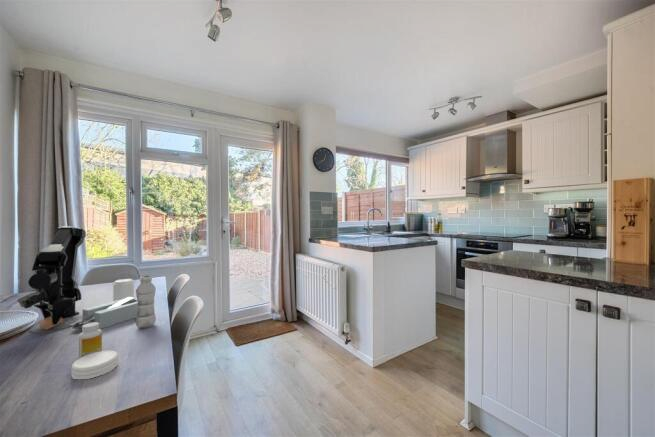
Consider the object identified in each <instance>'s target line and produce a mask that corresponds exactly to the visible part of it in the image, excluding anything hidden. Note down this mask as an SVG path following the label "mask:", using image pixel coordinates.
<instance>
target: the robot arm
mask: <svg viewBox="0 0 655 437" xmlns="http://www.w3.org/2000/svg"><path fill="white" fill-rule="evenodd" d="M86 236H87V233H86V230H85V229H83V228H81V227H80V228H78V227H74V226H59V227H57V233H56V234H55V236H54V237H53V239H52V240H51V242H50V243H49V246H46V247H42V249H41V250H40V251H39V253H37V255H36V256H35V260H34V262H33V266H32V269H31V271H32V272H33V271H35V272H36V273H35V274H33V275H32V276H30V277H29V278H28V285H29V287H30V288H32V289H35V290H36V291H34V292H32V293H31V292H30V293H28V294H27V295H24V296H22V297H20V298H19V297H18V299H17V302H18V303H19V306H20V307H21V308H24V309H29V308H31V307H35V308H37V309H39V310H40V312H41V314H42V315H41V316H42V317H43V319H45V318H47V317H50V316H51V319H52V323H53V325H55V324H57V323H58V321H59V320H60V318H61V317H62V319H64V318H67V317H72V316H74V315H79V314H80V312H79V311H76V302H78V301H82V292H81V290H80V287H79V284H78V282H77V281H76V279H75V273H76V272H75V271H76V265H77V258H78V250H79V247H80V246H81V245H82V244H83V243H84V240H85V238H86Z"/></svg>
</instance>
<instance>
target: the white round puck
mask: <svg viewBox="0 0 655 437" xmlns="http://www.w3.org/2000/svg"><path fill="white" fill-rule="evenodd" d="M118 365H119V353H118V352H117V351H116V350H115V351H114V350H102V351H100V352H95V353H92V354H89V355H86V356H84V357H82V358H78V359H77V360H75V361H74V362H73V363H72V364H71V371H70V372H71V378H72V379H73V380H75V379H89V378H93V377H97V376H100V375H102V374H105V373H107V372H109V371H110V372H112V371H113V370H115V369H116V368H117V367H118ZM116 366H117V367H116ZM115 367H116V368H115ZM114 368H115V369H114ZM112 369H113V370H112ZM111 370H112V371H111ZM110 372H109V373H110ZM107 374H108V373H107ZM105 375H106V374H105ZM102 376H103V375H102ZM100 377H101V376H100ZM97 378H98V377H97ZM93 379H94V378H93ZM89 380H90V379H89Z"/></svg>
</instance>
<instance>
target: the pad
mask: <svg viewBox="0 0 655 437" xmlns="http://www.w3.org/2000/svg"><path fill="white" fill-rule="evenodd" d="M72 326H73V325H72V324H68V323H66V322H64V321H63V322H61V323H59V324H57V325H55V326H53V327H51V328H49V329H47V330H46V329H43V328H40V326H39V327H37V328H33V329H29V330H28V332H30V333H32V334H35V335H38V336H41V337H42V336H45V335H48V334H51V333H52V334H53V333H55V332H59V331H61V330H62V331H63V330H65V329H68V328H72Z"/></svg>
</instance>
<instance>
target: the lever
mask: <svg viewBox="0 0 655 437" xmlns="http://www.w3.org/2000/svg"><path fill="white" fill-rule="evenodd" d="M134 298H135V297H134ZM134 298H132V297H127V298H125V299H124V300H122V301H120V302H118V303H116V304H114V305H112V306H110V307H108V308H112V307H116V306H119V305H125V304H127V303H129V302H131V301H133V300H134ZM108 308H106V309H108ZM82 320H83V319H82ZM82 320H81V321H78V322H76V323H74V324H73V325H72V327H71V328H72V329H73V330H76V331H79V330H80V329H82V326H83V325H85V324H88V323H92V322H93V321H94V315H92V316H90V317H88V318H86V319H85V320H83V321H82Z"/></svg>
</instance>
